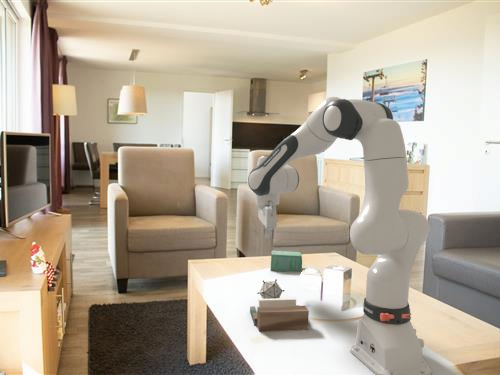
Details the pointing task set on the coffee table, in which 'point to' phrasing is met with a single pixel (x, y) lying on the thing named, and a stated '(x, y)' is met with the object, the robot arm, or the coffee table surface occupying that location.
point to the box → (286, 261)
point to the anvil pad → (277, 302)
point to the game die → (270, 290)
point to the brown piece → (280, 318)
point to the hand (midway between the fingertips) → (266, 236)
